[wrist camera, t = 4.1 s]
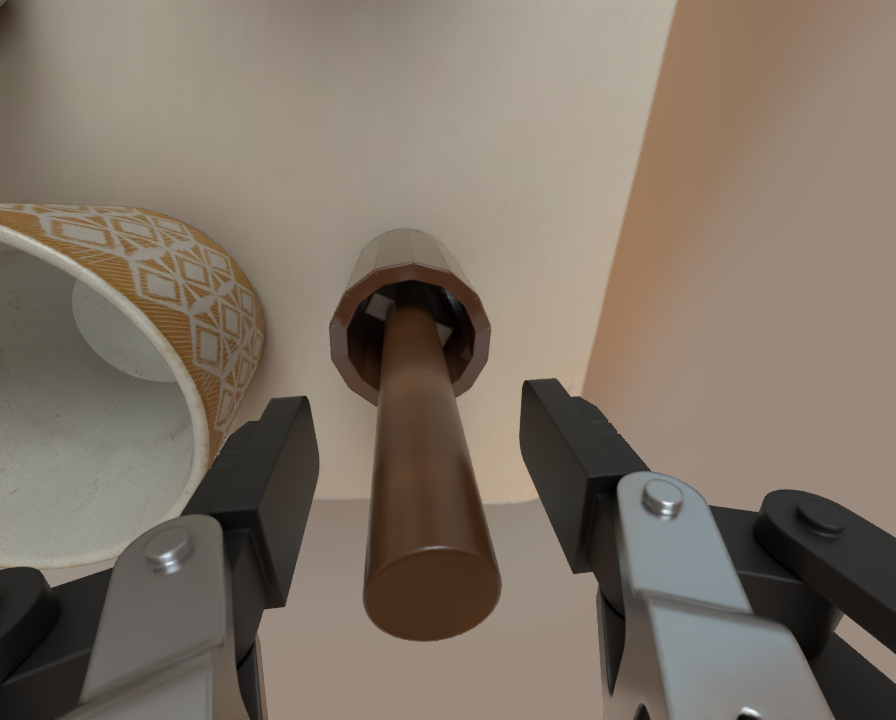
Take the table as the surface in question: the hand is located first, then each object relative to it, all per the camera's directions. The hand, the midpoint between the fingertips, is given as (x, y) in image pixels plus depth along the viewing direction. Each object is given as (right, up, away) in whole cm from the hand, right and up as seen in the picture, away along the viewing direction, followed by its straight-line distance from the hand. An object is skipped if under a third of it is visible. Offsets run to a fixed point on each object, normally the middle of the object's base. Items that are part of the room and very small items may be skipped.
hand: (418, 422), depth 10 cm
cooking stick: (-2, +6, +12) cm, 13 cm away
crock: (-2, +6, +13) cm, 14 cm away
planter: (-15, +4, +12) cm, 19 cm away
